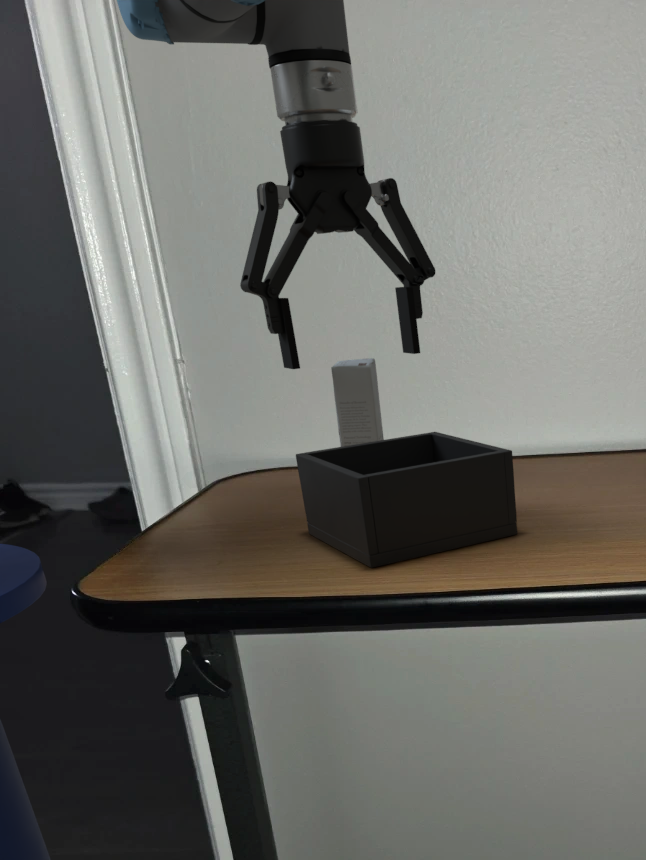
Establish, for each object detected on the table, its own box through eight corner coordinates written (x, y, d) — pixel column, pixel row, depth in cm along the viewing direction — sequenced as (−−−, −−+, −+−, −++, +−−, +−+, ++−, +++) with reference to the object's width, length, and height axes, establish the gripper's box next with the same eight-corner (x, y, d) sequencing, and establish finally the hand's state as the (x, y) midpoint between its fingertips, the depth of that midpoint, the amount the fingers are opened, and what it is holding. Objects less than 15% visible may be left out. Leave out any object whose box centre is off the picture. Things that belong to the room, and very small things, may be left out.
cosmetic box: (350, 473, 106) (333, 360, 100) (389, 470, 106) (375, 357, 100) (344, 484, 100) (326, 365, 95) (385, 482, 100) (370, 363, 95)
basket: (371, 568, 72) (358, 478, 69) (308, 533, 83) (295, 454, 80) (517, 534, 79) (512, 450, 76) (443, 506, 89) (435, 431, 86)
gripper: (197, 115, 79) (249, 377, 89) (453, 117, 91) (473, 348, 101) (176, 127, 85) (226, 372, 95) (418, 127, 97) (441, 345, 106)
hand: (353, 360), depth 98 cm, fingers open, 13 cm apart
